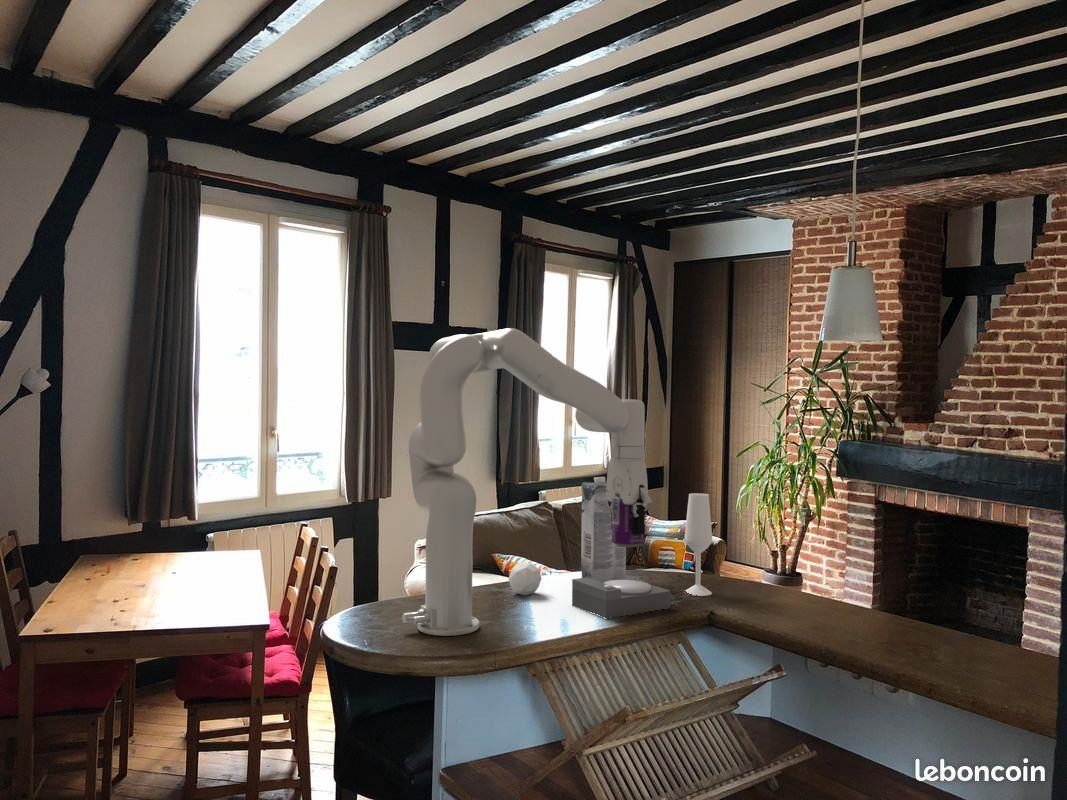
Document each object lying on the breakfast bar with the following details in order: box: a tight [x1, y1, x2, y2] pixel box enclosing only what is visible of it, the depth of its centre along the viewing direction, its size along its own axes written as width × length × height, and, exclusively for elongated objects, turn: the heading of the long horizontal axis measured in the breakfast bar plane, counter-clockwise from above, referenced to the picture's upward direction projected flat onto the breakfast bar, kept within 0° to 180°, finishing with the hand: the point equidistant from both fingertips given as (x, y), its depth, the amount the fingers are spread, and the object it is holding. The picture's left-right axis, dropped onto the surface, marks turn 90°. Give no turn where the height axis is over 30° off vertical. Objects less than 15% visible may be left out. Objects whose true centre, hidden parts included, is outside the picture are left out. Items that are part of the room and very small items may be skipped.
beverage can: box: [612, 493, 644, 548], centre depth 182 cm, size 7×7×12 cm
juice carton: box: [580, 476, 627, 583], centre depth 205 cm, size 9×10×27 cm
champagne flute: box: [684, 492, 713, 597], centre depth 195 cm, size 7×7×24 cm
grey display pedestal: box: [571, 577, 672, 618], centre depth 181 cm, size 18×13×7 cm
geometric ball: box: [508, 561, 542, 596], centre depth 192 cm, size 8×8×8 cm
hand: (627, 531), depth 182 cm, fingers closed on beverage can, 6 cm apart
